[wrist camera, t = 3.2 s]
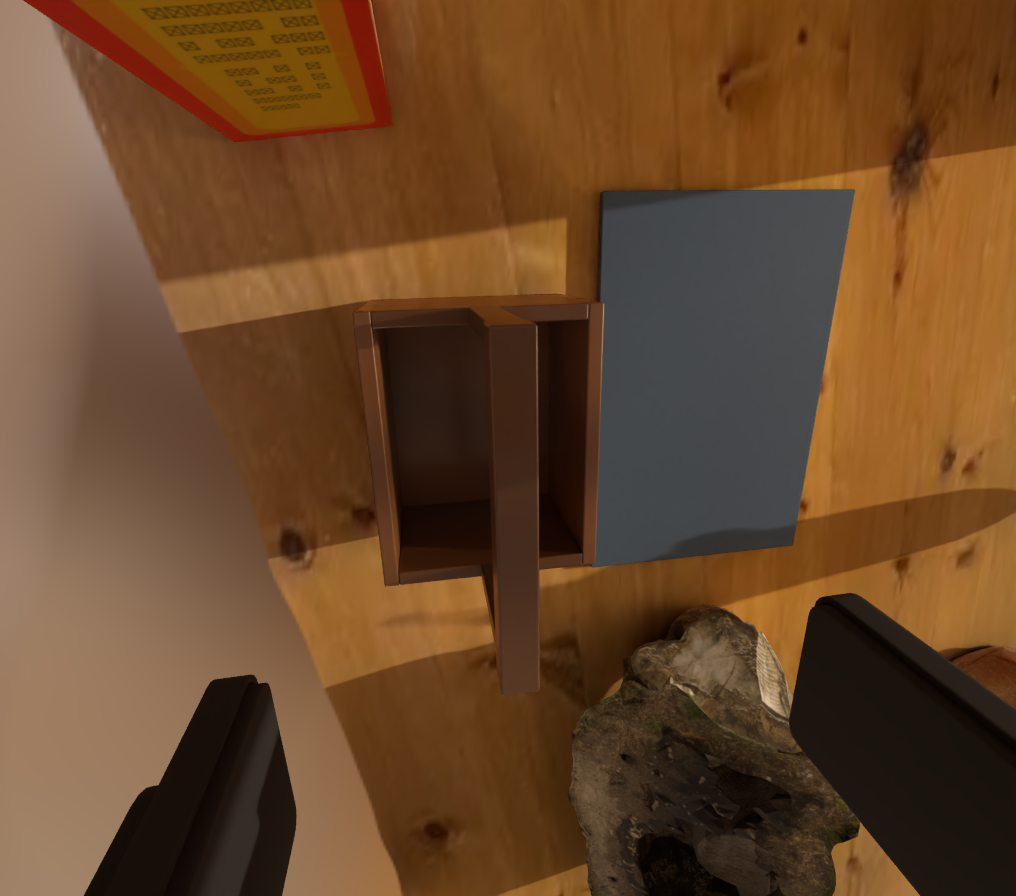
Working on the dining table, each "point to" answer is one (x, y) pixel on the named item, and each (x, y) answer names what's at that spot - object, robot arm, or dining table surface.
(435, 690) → the dining table surface
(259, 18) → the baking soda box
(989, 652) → the bread roll
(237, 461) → the dining table surface
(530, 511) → the basket
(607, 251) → the placemat
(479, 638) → the dining table surface
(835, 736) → the robot arm
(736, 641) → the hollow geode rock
